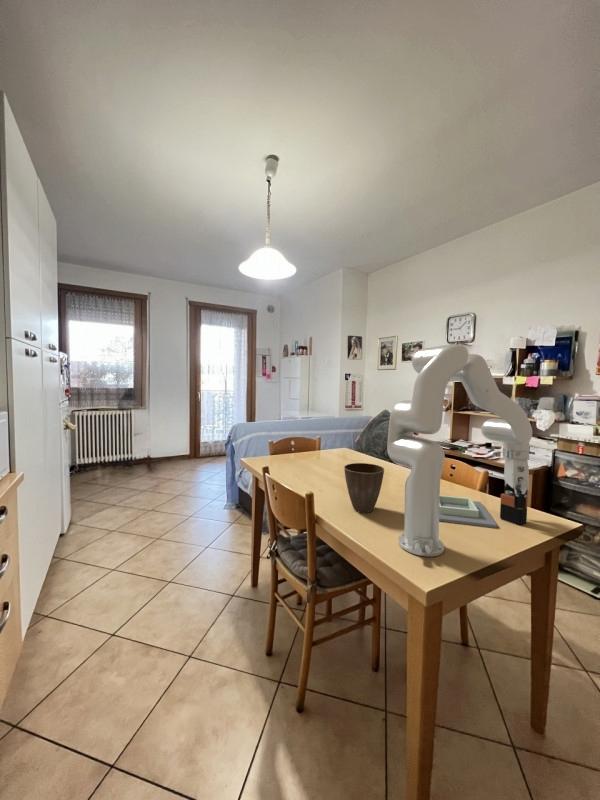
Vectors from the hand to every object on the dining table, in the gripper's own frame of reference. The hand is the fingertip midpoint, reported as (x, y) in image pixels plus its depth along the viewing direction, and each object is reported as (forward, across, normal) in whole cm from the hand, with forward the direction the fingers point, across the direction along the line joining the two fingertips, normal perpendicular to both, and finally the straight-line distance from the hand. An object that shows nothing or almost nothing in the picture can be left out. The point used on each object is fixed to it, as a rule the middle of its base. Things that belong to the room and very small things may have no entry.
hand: (514, 502), depth 110 cm
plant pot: (+6, -5, +52) cm, 52 cm away
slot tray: (+6, +2, +18) cm, 20 cm away
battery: (+7, 0, 0) cm, 7 cm away
